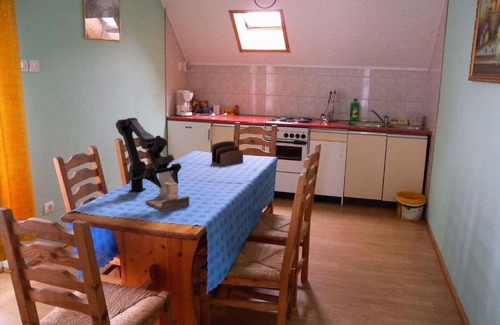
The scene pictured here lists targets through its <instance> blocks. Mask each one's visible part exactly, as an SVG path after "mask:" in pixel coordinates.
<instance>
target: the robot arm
mask: <svg viewBox="0 0 500 325" xmlns="http://www.w3.org/2000/svg"><path fill="white" fill-rule="evenodd" d="M115 127H116V129H117V132H118V133H119V134H120V135H121V136H122V137H123V140H124V144H125V147H126V151H127V155H128V159H129V162H130V164H129V167H128V170H129V171H128V173H127V174H126V178H127V181H130V187H131V189H129V190H128V192H132V193H141V192H143V191H145V190H146V187H144V180H146V181H149V182H150V183H153V184H154V185H155V186H157V187H158V189H159V188H161V187H162V186H161V184H160V182H159V177H158V175H159V173H164V172H170V173H171V177H172V178H173V180H174V181H175V183H177V184H178V185H179V171H180V170H181V169H182V164H181V163H179V162H177V163H173V161H175V158H174V155H173V154H172V153H171V154H168V155H167V156H166V155H165V156H162V153H163V152H164V150H165V149H166V147H167V145H168V141H167V139H166V138H164V137H162V136H161V135H156V136H154V135H153V134H152V133H149V132H147V131H146V129H145V128H144V127H143V126H142V125H141V124H140V122H139V120H138V118H136V117H128V118H124V119H117V121H116V122H115ZM133 133H134V134H135V135H136V137H137V138H138V140H139V142H138V144H139V145H140V147H141V148H142V150H147V151H146V154H145V157H146V158H147V157H148V158H149V160H150V165H151V167H147V166H146V162H145V161H142V160H141V159H140V156H139V152H138V148H137V146H136V142H135V138H134V135H133ZM171 163H172V164H171ZM170 164H171V165H170ZM169 165H170V167H169ZM167 167H168V168H167Z"/></svg>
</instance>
